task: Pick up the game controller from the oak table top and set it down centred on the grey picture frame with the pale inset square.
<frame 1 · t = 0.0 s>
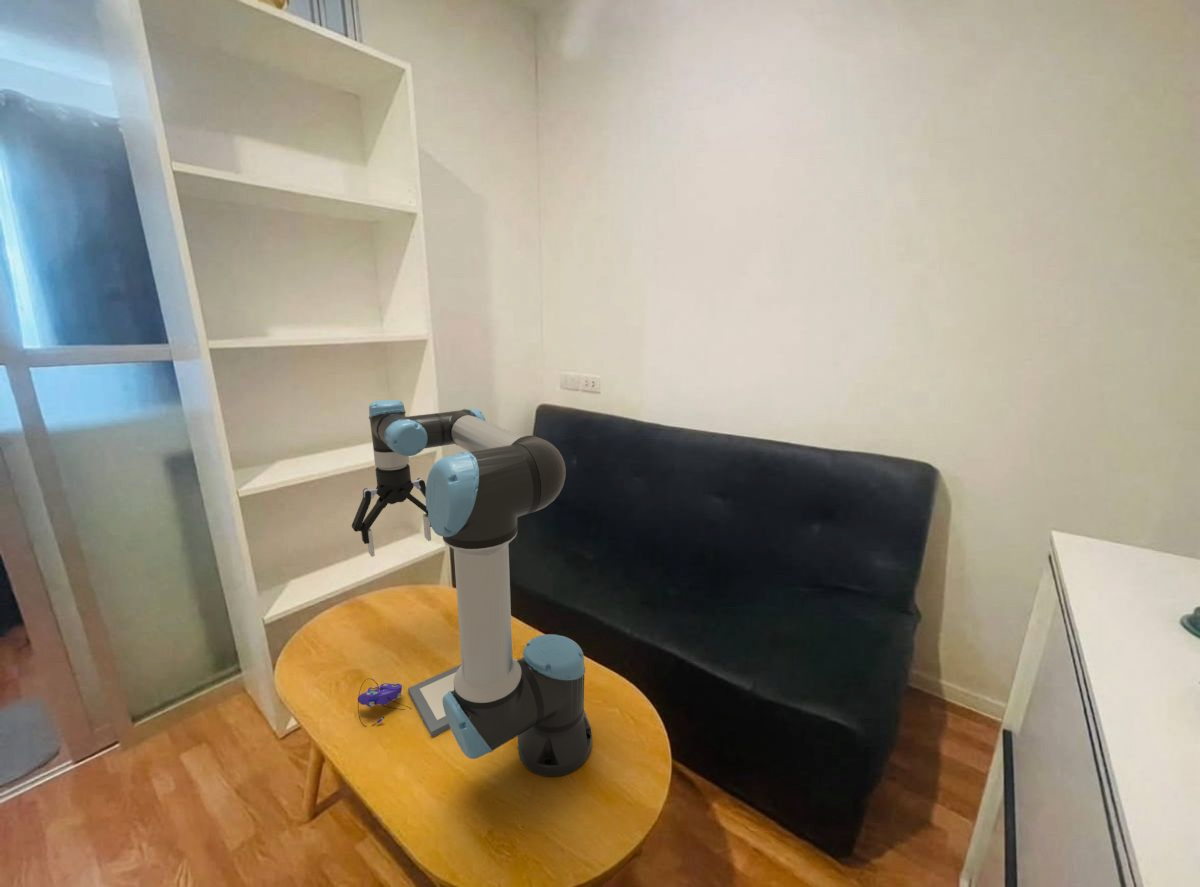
hand: (400, 546, 121), 28 cm above the table, fingers open, 13 cm apart
game controller: (385, 710, 107), on the table
grey picture frame: (452, 698, 110), on the table
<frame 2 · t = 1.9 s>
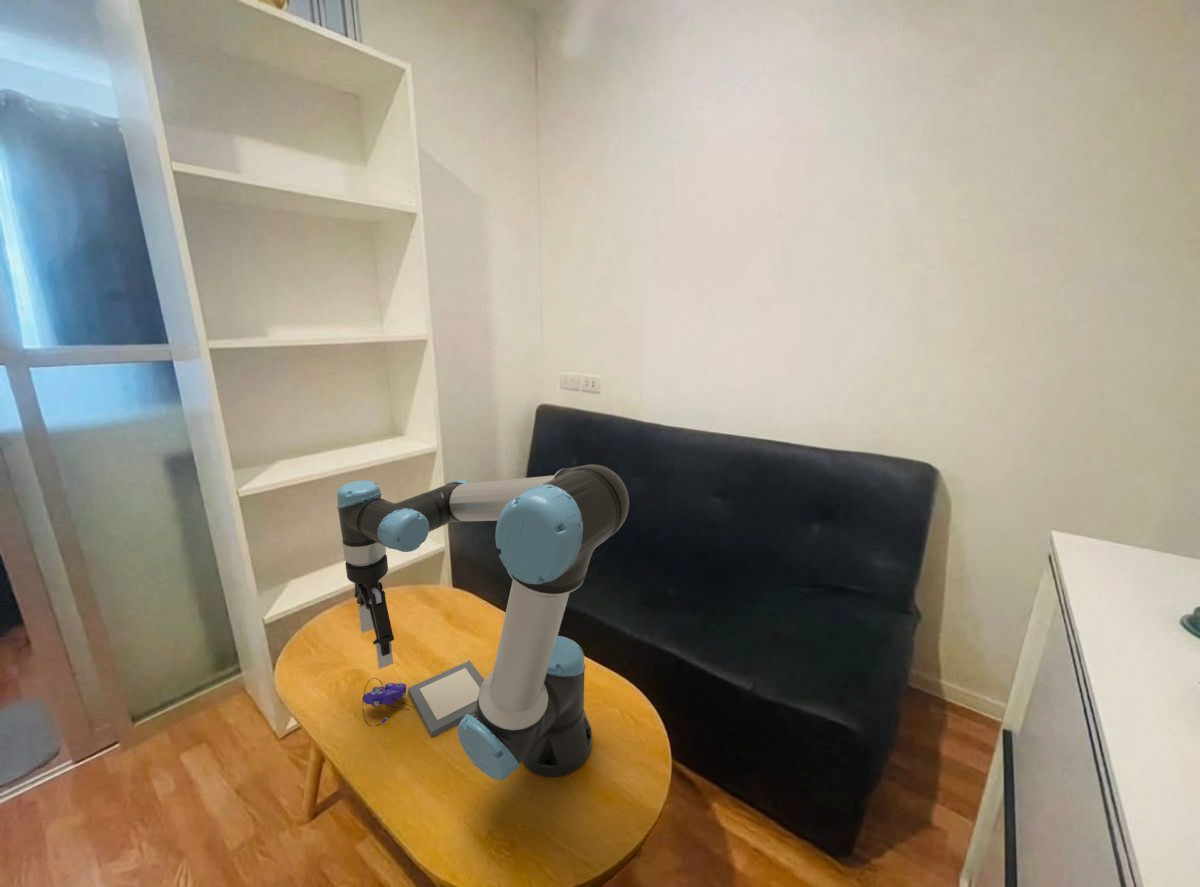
hand: (376, 647, 103), 16 cm above the table, fingers open, 13 cm apart
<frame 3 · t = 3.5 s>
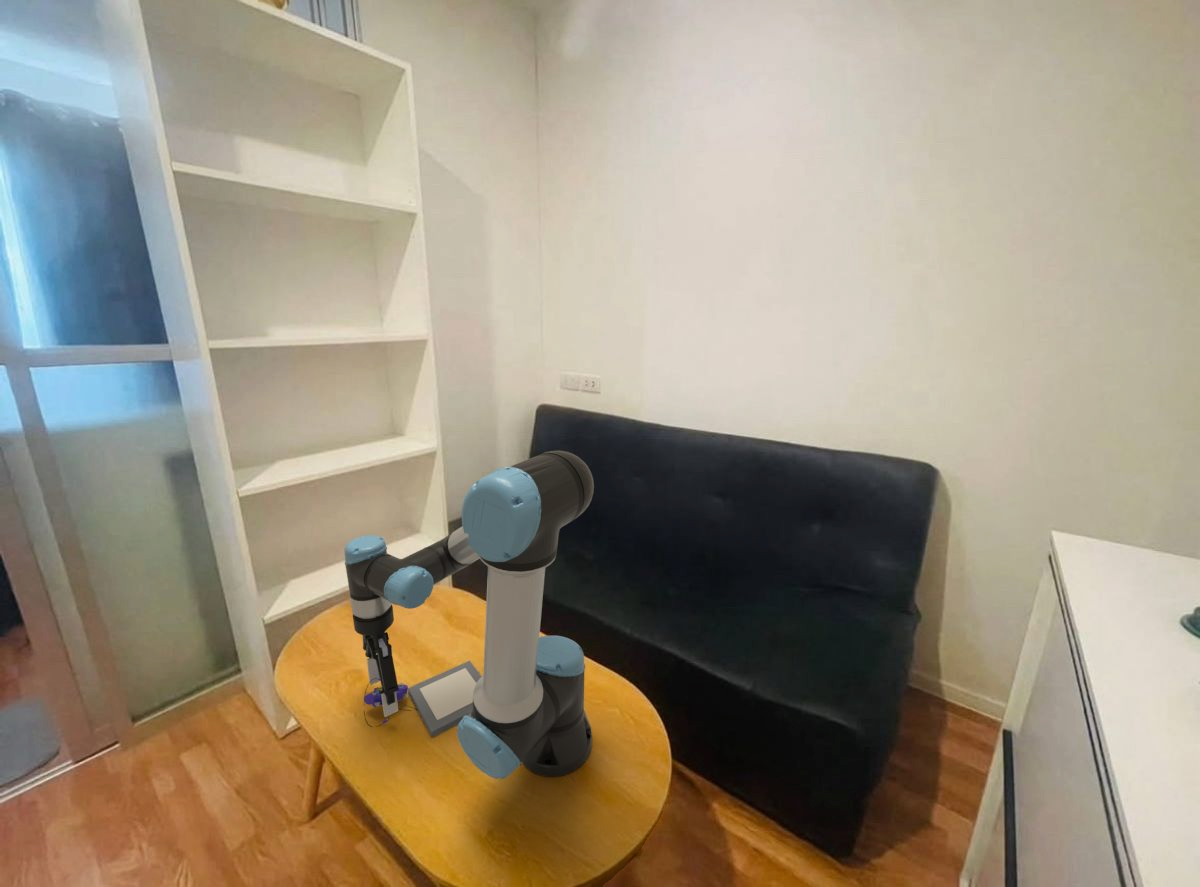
hand: (383, 696, 106), 3 cm above the table, fingers open, 10 cm apart
game controller: (391, 711, 107), on the table, touching gripper
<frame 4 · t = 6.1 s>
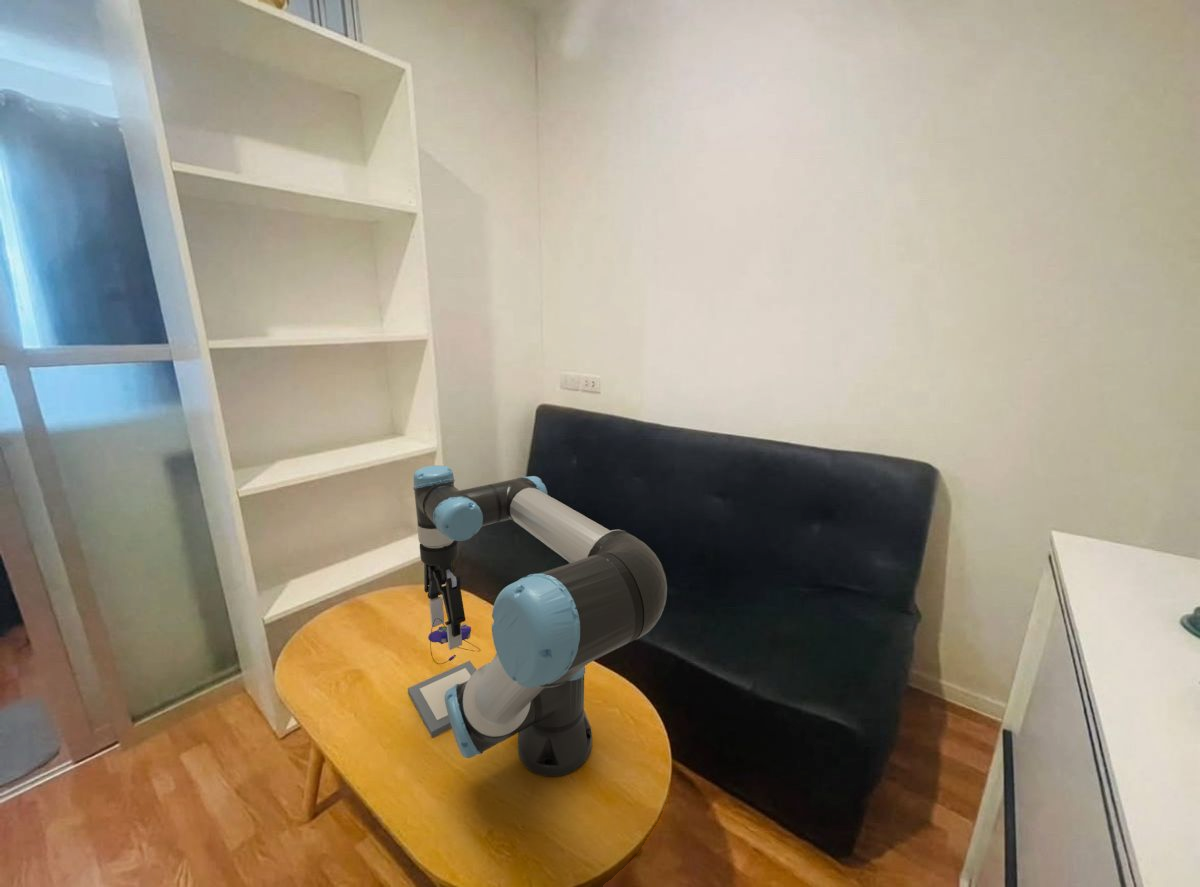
hand: (446, 635, 105), 17 cm above the table, fingers closed on game controller, 9 cm apart
game controller: (455, 651, 106), point 14 cm above the table, touching gripper
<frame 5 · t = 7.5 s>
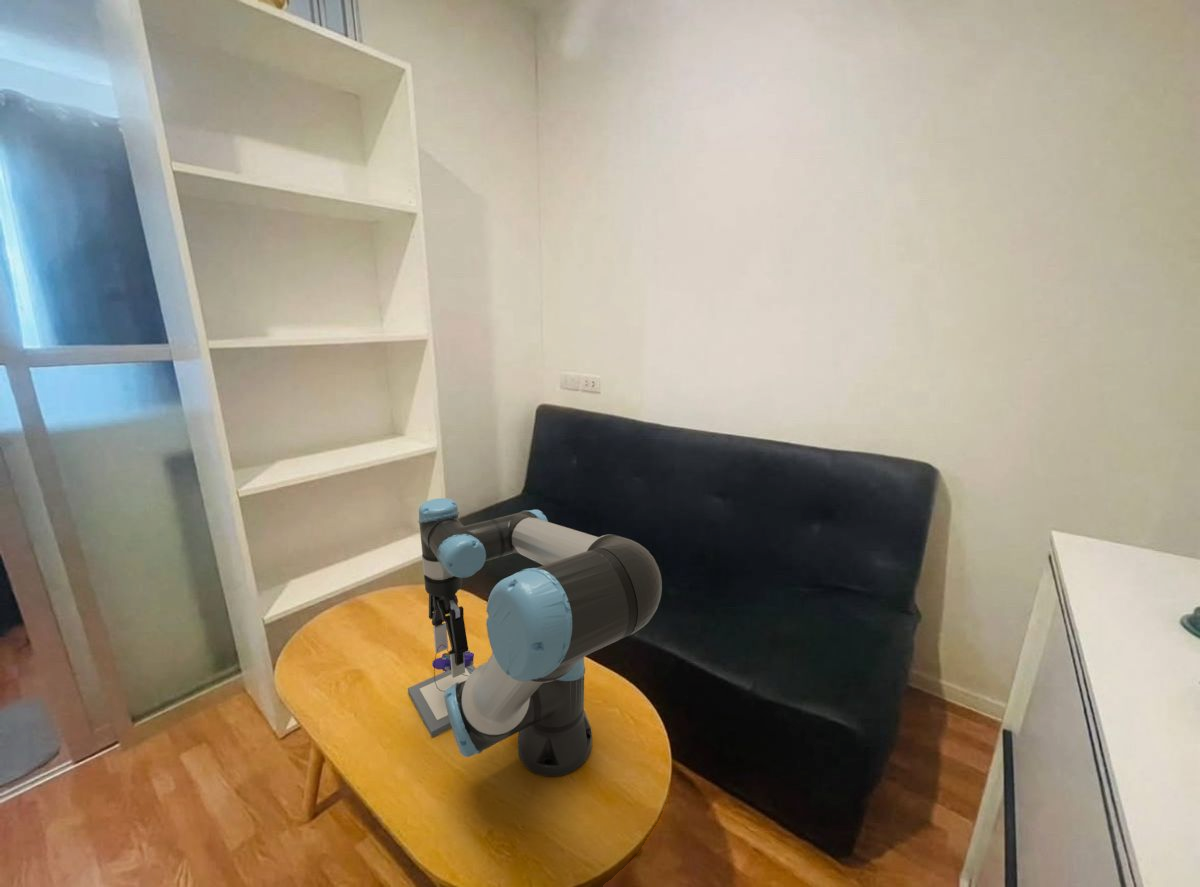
hand: (449, 661, 108), 10 cm above the table, fingers closed on game controller, 9 cm apart
game controller: (458, 677, 108), point 6 cm above the table, touching gripper
when the fingers open (10 cm above the table, at t = 8.6 s): game controller drops 5 cm, resting on grey picture frame.
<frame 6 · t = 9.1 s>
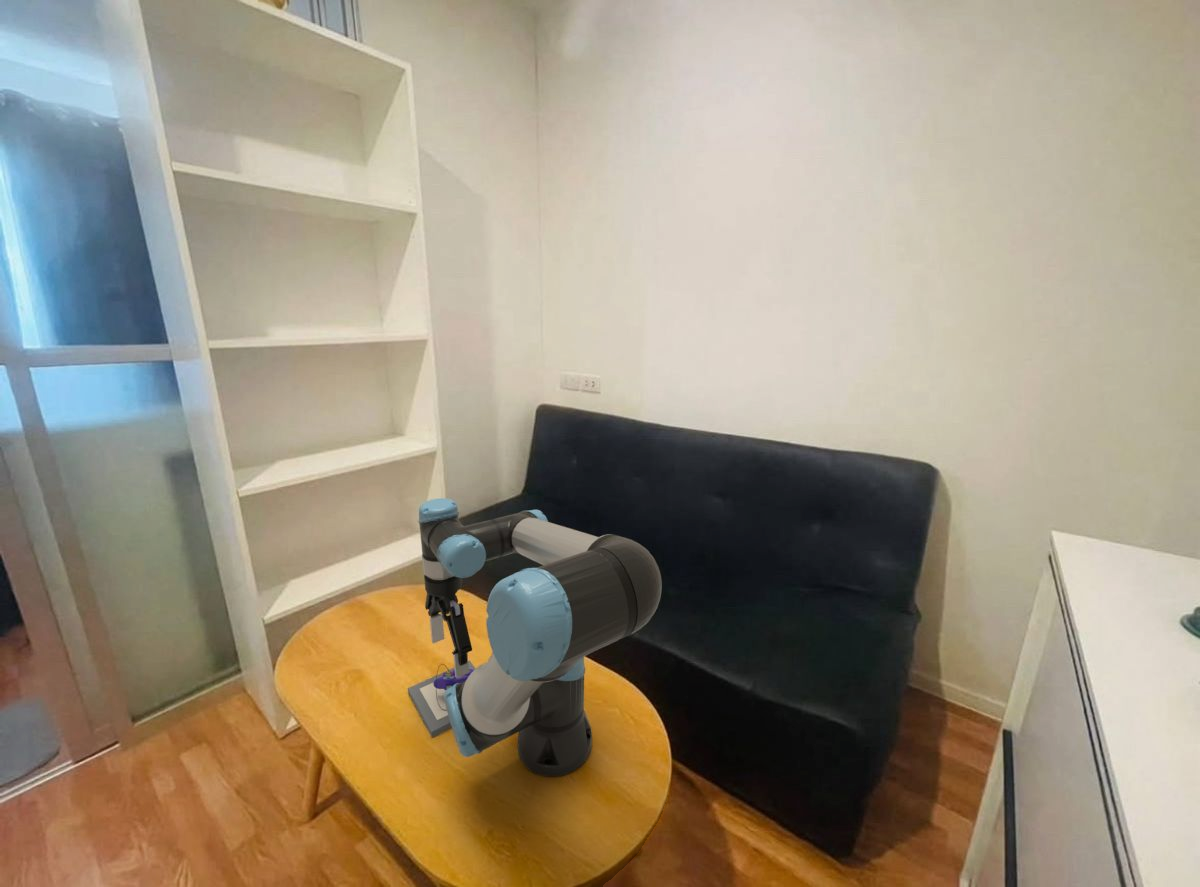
hand: (449, 656, 107), 11 cm above the table, fingers open, 13 cm apart
game controller: (460, 695, 109), point 1 cm above the table, touching grey picture frame
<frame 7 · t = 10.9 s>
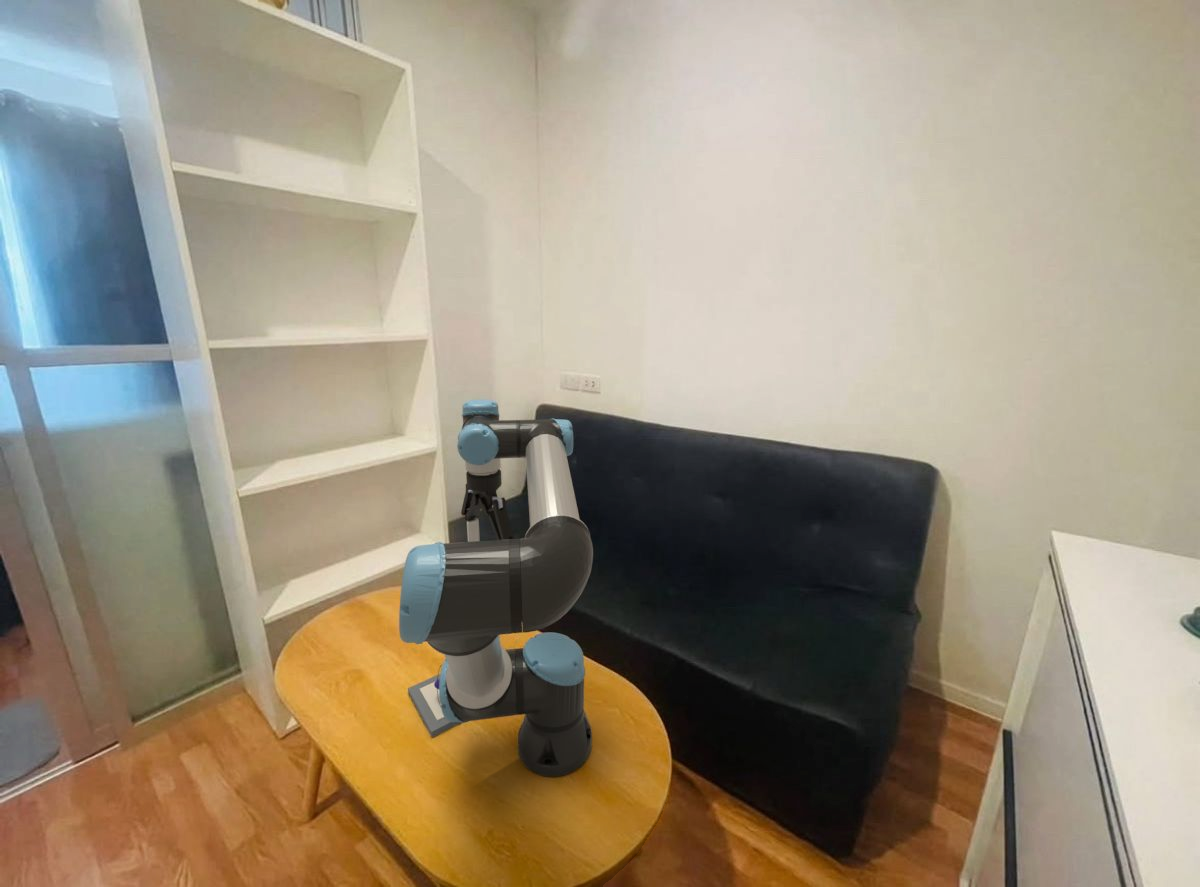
hand: (487, 556, 113), 30 cm above the table, fingers open, 13 cm apart
nothing on the table moved.
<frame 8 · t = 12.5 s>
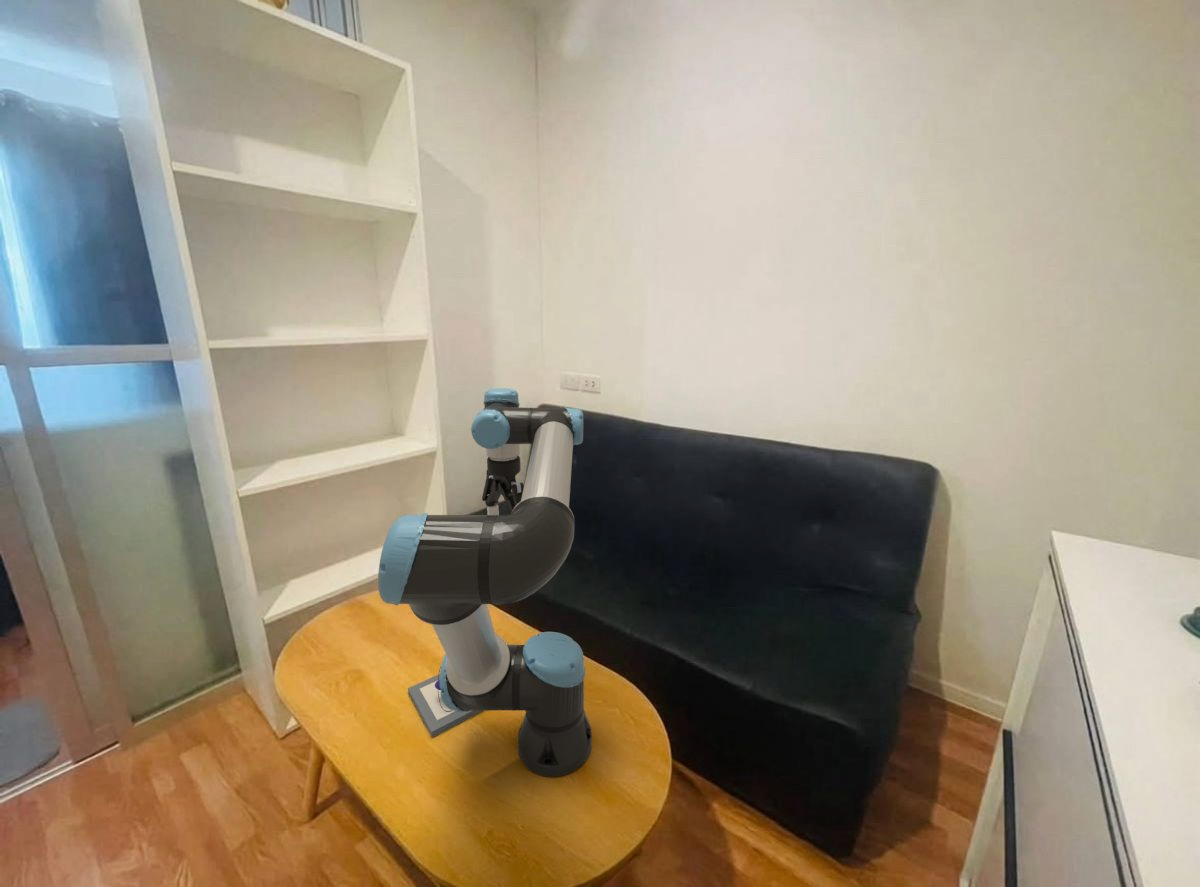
hand: (506, 540, 117), 32 cm above the table, fingers open, 13 cm apart
nothing on the table moved.
at the end: game controller 2.5 cm from the grey picture frame (horizontally); game controller touching grey picture frame; the gripper is holding nothing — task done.
